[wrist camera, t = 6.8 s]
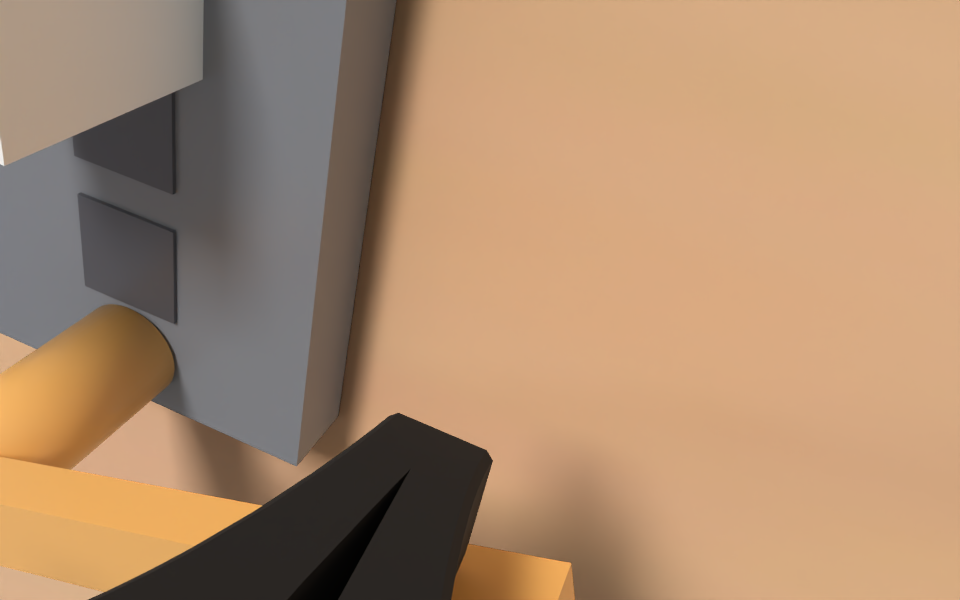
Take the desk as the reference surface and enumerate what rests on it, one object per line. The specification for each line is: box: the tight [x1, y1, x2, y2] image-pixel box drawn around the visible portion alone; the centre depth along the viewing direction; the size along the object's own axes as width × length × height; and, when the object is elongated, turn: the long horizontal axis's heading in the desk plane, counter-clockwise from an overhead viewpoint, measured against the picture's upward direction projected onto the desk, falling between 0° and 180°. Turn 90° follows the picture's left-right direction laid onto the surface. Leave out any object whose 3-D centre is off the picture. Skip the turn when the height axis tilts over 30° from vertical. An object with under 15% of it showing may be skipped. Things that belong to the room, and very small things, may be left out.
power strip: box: [0, 0, 396, 466], centre depth 17 cm, size 14×9×2 cm, turn 168°
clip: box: [0, 304, 575, 600], centre depth 15 cm, size 13×2×6 cm, turn 97°
